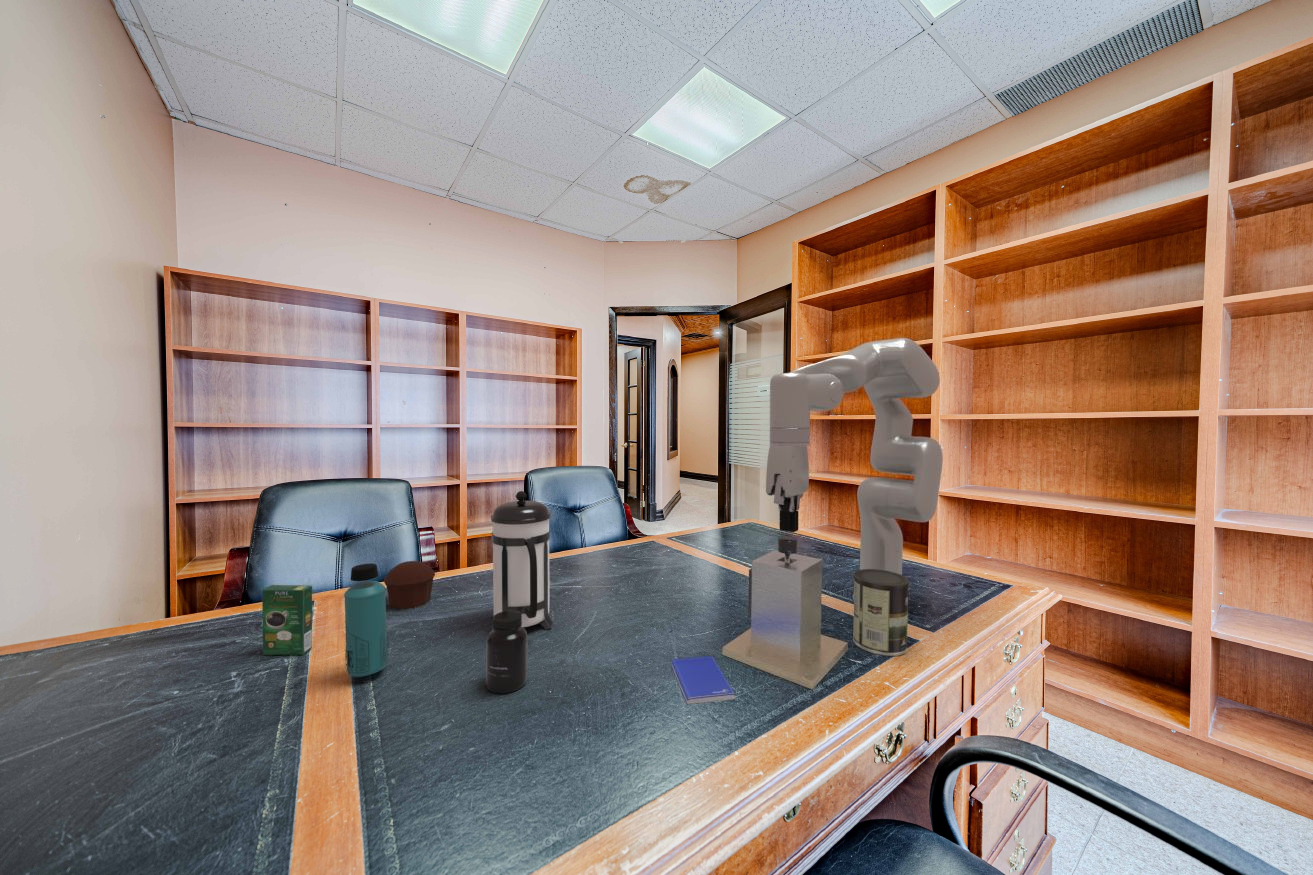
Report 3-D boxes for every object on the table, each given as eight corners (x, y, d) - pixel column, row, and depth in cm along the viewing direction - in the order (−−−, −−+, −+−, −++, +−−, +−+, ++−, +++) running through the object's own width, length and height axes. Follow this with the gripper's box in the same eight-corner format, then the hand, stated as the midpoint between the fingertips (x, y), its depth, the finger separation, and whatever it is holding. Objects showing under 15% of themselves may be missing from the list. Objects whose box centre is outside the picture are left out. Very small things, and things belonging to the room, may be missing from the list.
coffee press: (467, 634, 100) (466, 494, 98) (516, 606, 114) (515, 484, 113) (535, 650, 93) (534, 500, 92) (577, 618, 108) (577, 489, 107)
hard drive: (735, 692, 77) (712, 655, 89) (687, 697, 76) (671, 659, 88) (735, 702, 77) (712, 663, 89) (687, 707, 76) (671, 667, 88)
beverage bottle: (396, 669, 86) (395, 561, 85) (363, 689, 79) (361, 573, 79) (370, 663, 88) (368, 558, 87) (335, 682, 81) (333, 568, 81)
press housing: (765, 624, 105) (766, 542, 105) (847, 650, 94) (849, 558, 93) (722, 654, 92) (723, 561, 91) (812, 689, 80) (814, 582, 79)
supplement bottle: (489, 699, 77) (488, 627, 76) (483, 678, 83) (483, 612, 82) (531, 688, 80) (531, 619, 79) (523, 669, 86) (522, 605, 85)
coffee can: (898, 635, 100) (900, 570, 100) (914, 659, 90) (916, 587, 90) (847, 630, 102) (848, 566, 102) (858, 653, 92) (859, 583, 92)
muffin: (375, 604, 116) (374, 564, 115) (419, 590, 125) (419, 553, 124) (399, 616, 109) (399, 573, 108) (444, 600, 118) (444, 561, 118)
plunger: (778, 611, 97) (779, 533, 96) (809, 621, 93) (811, 538, 92) (762, 622, 92) (763, 539, 91) (795, 632, 88) (796, 545, 87)
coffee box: (315, 648, 93) (313, 583, 93) (304, 655, 91) (302, 588, 90) (273, 648, 93) (271, 583, 93) (261, 656, 90) (259, 589, 90)
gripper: (788, 435, 99) (787, 521, 100) (753, 438, 88) (753, 535, 89) (823, 436, 94) (822, 526, 95) (791, 439, 83) (790, 541, 84)
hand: (788, 530), depth 92 cm, fingers closed
